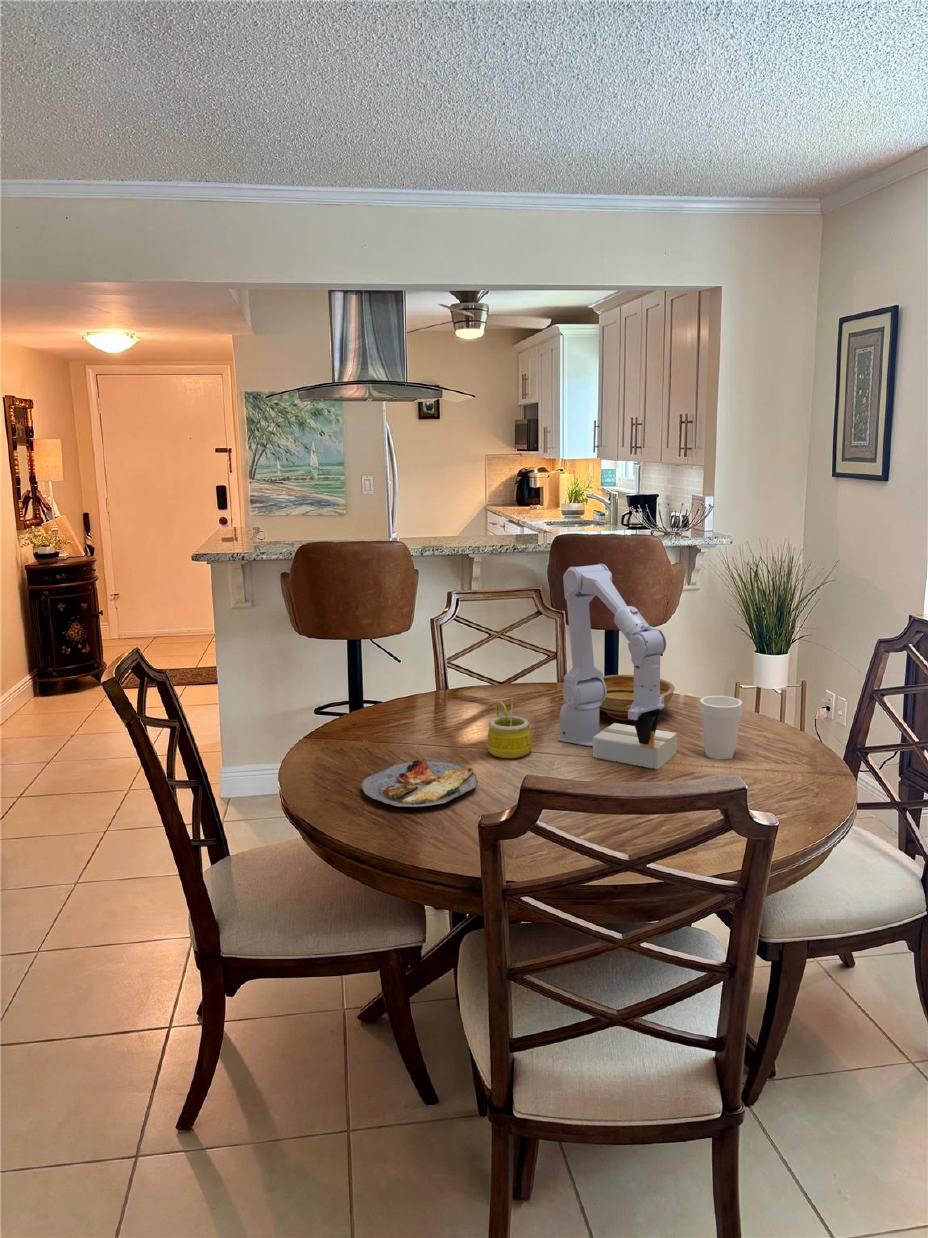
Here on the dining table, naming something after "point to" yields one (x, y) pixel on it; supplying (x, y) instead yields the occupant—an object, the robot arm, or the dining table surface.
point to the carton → (627, 734)
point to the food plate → (420, 783)
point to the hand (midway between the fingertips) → (646, 742)
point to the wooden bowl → (627, 695)
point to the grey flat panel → (627, 752)
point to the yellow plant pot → (509, 735)
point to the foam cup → (720, 725)
